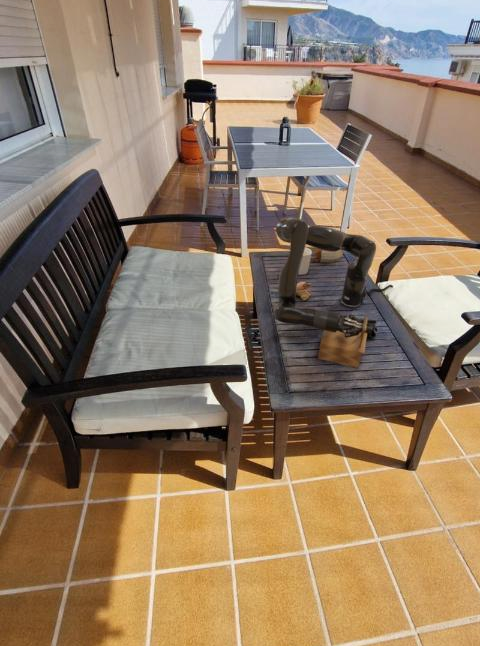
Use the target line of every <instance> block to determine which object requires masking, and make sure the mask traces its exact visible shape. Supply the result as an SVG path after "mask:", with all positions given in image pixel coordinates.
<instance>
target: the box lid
mask: <svg viewBox="0 0 480 646" xmlns="http://www.w3.org/2000/svg"><path fill="white" fill-rule="evenodd" d="M363 319H364V321H363V328H362V331H363V332H361V333H359V335H357V336H352V337H348V338H346V337H345V334H344V333H342V332H339V331H337V332H330V331H326V330H323V333H322V337H321V341H320V344H322V345H326V346H330V347H334V348H339V349H343V350H347V351H351V352H356V353H360V354H362V355H365V351H366V344H367V339H366V338H367V333H365V332H366V328H367V321H368V319H369V318H368V317H367V316H365V317H363ZM355 333H356V332H355Z"/></svg>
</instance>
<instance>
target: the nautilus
mask: <svg viewBox="0 0 480 646" xmlns="http://www.w3.org/2000/svg"><path fill="white" fill-rule="evenodd" d="M310 250H311V251H312V253H313V255H311V259H310V261H313V263H314V262H320V263H324V264H325V263H328V264H329V263H335V262H336V261H338V260H340V259H341V258H342V257H343V255H344V253H343V250H338V251H335V252H330V251H325V250H321V249H314V250H313V249H310Z"/></svg>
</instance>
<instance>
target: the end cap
mask: <svg viewBox="0 0 480 646" xmlns="http://www.w3.org/2000/svg"><path fill="white" fill-rule="evenodd" d="M358 319H359V320H361V323H362V324H363V321H364V318H363V319H362V318H361V319H360V318H358ZM376 323H377V320H376V319H370V318H368V321H367V326H370V327H372V328H373V330H372V333H371V334H367V338H366V340H375V337H376V335H377V333H376V332H378V328H377V326H376Z"/></svg>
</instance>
